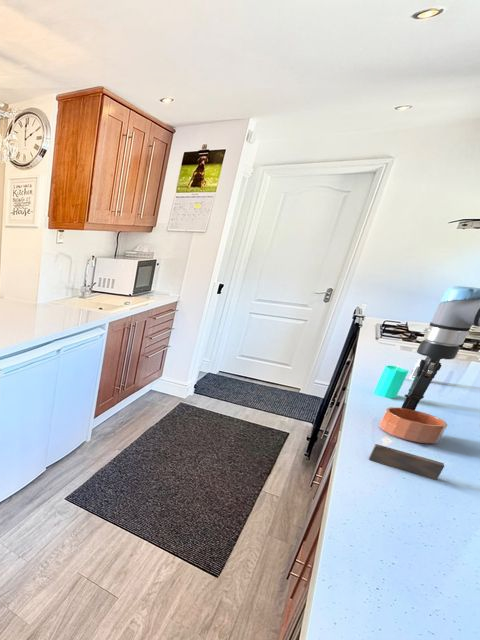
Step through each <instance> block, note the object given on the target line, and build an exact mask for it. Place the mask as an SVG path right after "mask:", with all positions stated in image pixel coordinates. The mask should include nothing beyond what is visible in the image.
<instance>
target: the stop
mask: <svg viewBox="0 0 480 640" xmlns="http://www.w3.org/2000/svg"><path fill="white" fill-rule="evenodd" d="M368 460H369V461H372V462H375V463H379V464H382V465H385V466H389V467H391V468H395V469H398V470H402V471H404V472H407V473H412V474H415V475H417V476H421V477H424V478H428V479H431V480H434V481H437V480H438V479H439V477H440V475H441V473H442V472H443V470H444V468H445V463H444V462H441V461H437V460H433V459H430V458H427V457H423V456H420V455H416V454H413V453H409V452H406V451H403V450H399V449H396V448H392V447H389V446H385V445H381V444H378V443H375V444H374V445H373V448H372V450H371V452H370V454H369V456H368Z"/></svg>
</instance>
